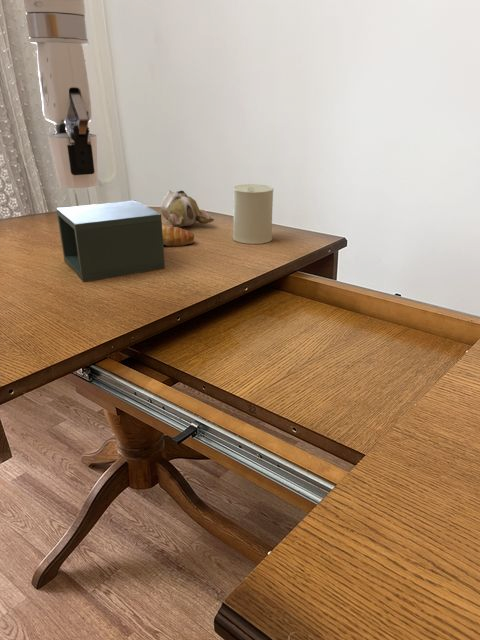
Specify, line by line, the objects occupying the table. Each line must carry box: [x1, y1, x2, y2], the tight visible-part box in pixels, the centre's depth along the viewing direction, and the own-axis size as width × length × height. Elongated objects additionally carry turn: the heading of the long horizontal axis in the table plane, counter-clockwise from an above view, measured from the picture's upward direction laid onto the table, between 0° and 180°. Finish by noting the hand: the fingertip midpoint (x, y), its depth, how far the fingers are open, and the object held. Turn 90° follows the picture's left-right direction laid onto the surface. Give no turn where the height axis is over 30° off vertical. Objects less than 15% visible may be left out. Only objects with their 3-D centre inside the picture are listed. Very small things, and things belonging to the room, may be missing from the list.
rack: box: [56, 199, 166, 282], centre depth 106 cm, size 16×14×11 cm
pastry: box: [162, 225, 195, 247], centre depth 122 cm, size 9×7×4 cm
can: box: [232, 183, 274, 245], centre depth 124 cm, size 9×9×12 cm
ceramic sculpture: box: [160, 190, 215, 228], centre depth 135 cm, size 11×9×15 cm
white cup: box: [46, 133, 99, 189], centre depth 80 cm, size 7×7×7 cm
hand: (76, 169), depth 81 cm, fingers closed on white cup, 6 cm apart
